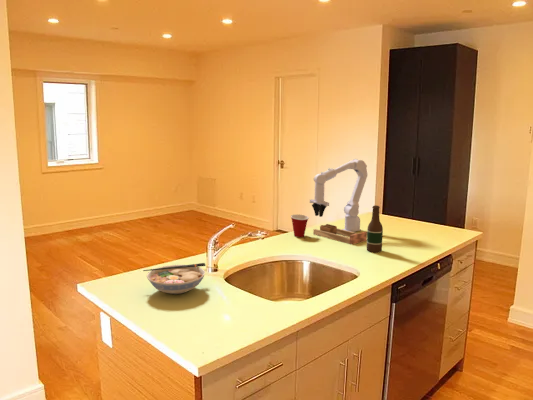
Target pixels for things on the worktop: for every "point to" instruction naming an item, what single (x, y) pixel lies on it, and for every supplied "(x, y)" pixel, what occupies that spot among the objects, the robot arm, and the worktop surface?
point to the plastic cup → (299, 224)
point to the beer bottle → (374, 232)
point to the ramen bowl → (176, 277)
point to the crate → (329, 228)
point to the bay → (352, 240)
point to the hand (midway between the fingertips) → (318, 216)
